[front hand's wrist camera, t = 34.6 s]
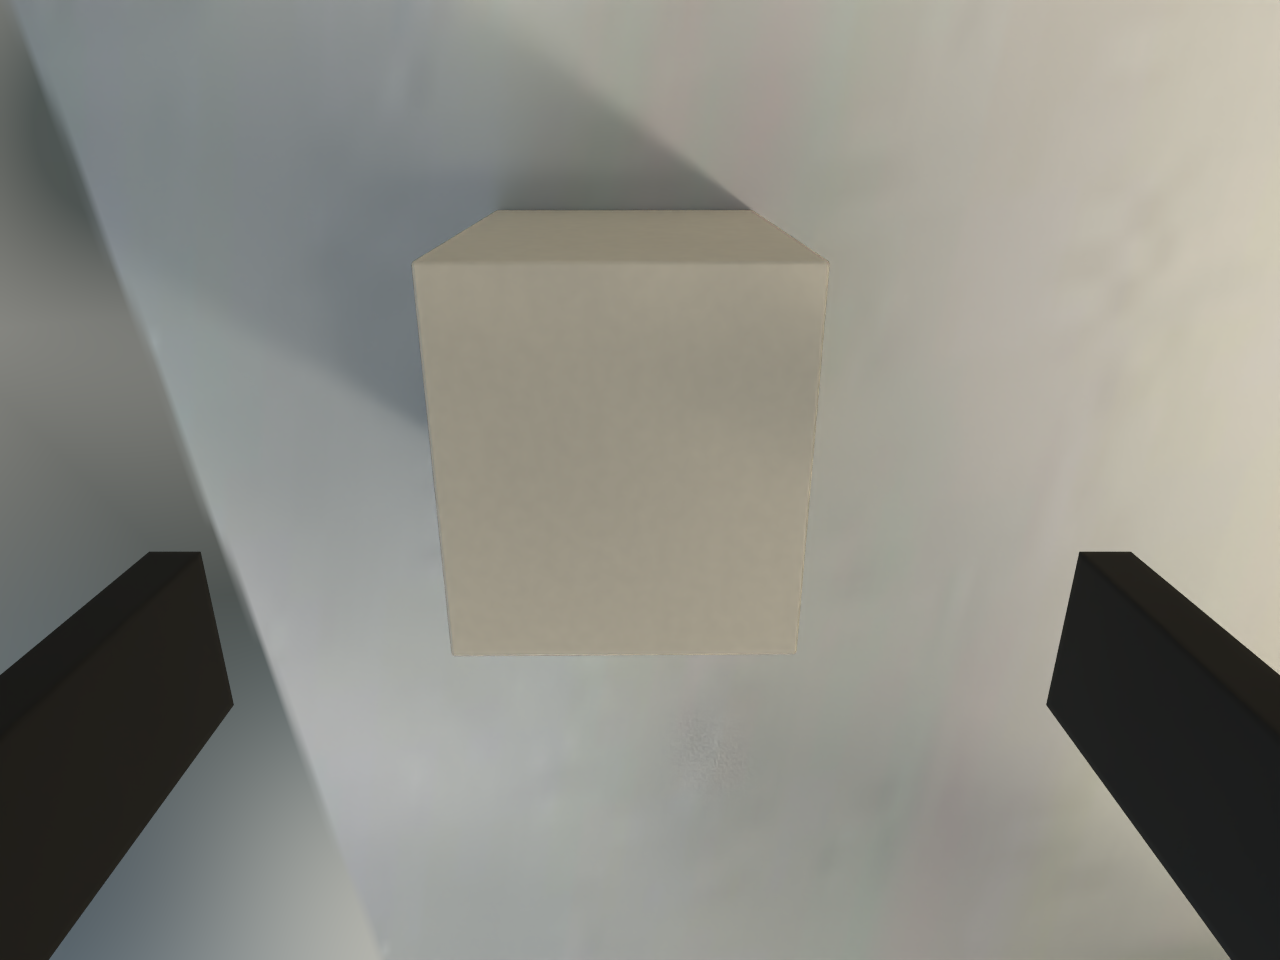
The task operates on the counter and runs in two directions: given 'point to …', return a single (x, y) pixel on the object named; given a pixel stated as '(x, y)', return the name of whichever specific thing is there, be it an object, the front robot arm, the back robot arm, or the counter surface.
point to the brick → (622, 429)
